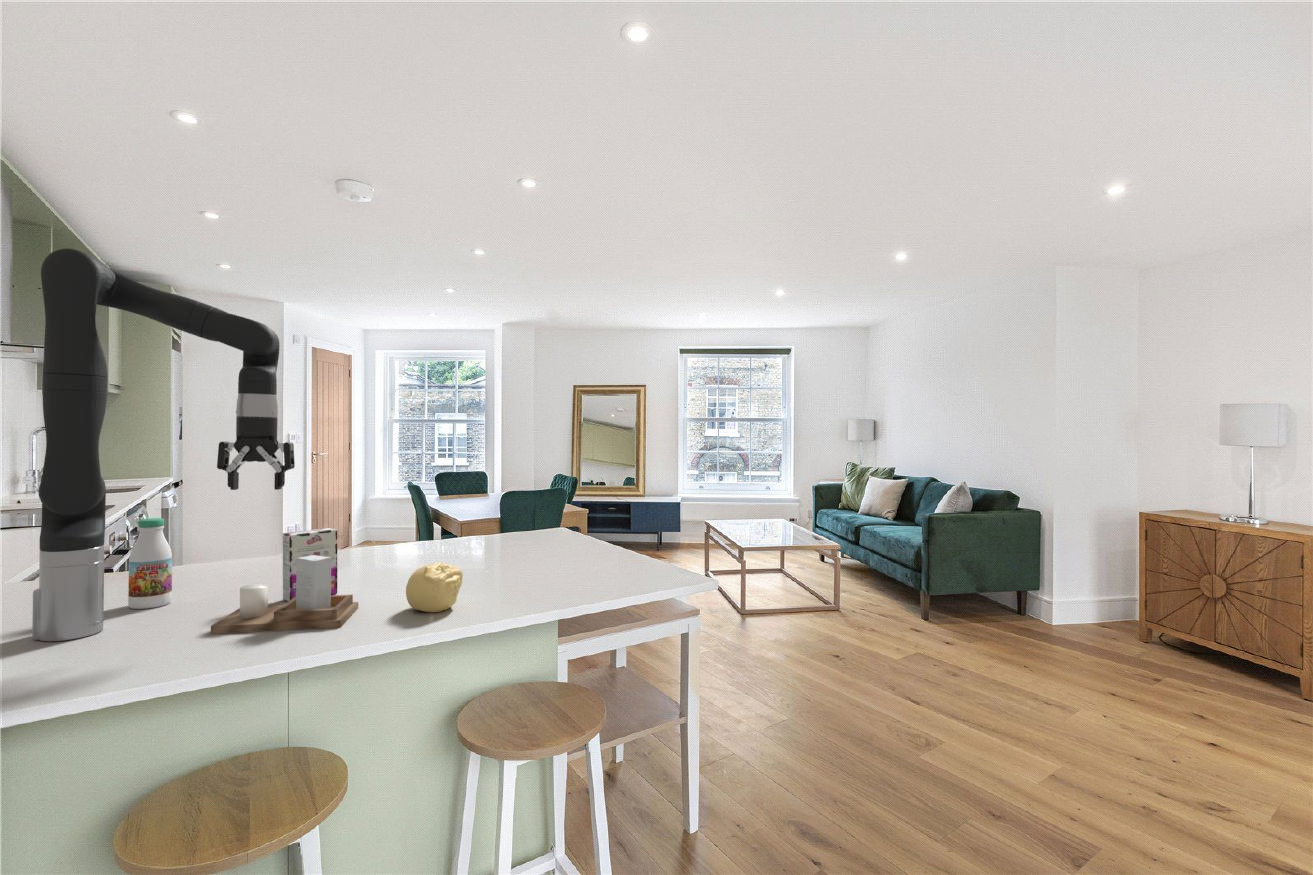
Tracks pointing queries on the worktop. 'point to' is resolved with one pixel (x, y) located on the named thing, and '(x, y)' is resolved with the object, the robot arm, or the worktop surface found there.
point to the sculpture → (434, 587)
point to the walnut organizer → (282, 613)
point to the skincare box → (313, 583)
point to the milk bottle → (150, 567)
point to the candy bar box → (306, 545)
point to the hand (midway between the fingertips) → (256, 489)
